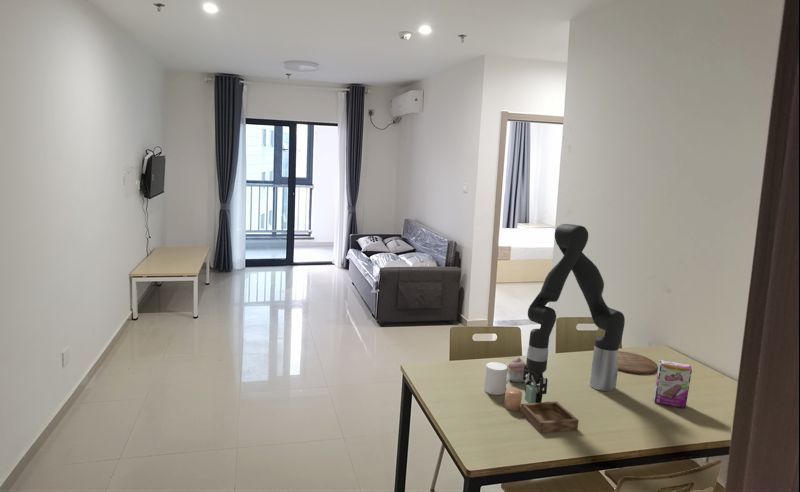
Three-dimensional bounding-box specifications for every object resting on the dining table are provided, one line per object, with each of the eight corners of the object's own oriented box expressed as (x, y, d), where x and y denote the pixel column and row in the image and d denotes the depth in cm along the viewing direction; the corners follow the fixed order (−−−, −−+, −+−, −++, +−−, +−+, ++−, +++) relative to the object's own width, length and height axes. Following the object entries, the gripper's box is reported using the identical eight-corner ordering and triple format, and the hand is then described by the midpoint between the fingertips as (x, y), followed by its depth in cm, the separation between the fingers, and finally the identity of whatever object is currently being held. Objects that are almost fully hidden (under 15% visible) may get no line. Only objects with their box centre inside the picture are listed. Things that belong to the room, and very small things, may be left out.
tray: (555, 410, 201) (556, 401, 201) (577, 429, 188) (578, 420, 187) (520, 412, 198) (521, 403, 197) (539, 432, 184) (540, 423, 183)
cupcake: (523, 386, 221) (525, 363, 219) (501, 380, 226) (503, 357, 224) (530, 379, 229) (533, 356, 227) (509, 373, 234) (511, 351, 232)
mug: (481, 364, 215) (502, 358, 222) (479, 389, 216) (500, 382, 224) (497, 371, 208) (518, 365, 215) (495, 397, 210) (516, 390, 217)
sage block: (535, 399, 210) (536, 384, 209) (541, 404, 206) (542, 389, 205) (524, 399, 209) (526, 384, 208) (530, 405, 205) (531, 389, 204)
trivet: (666, 376, 241) (667, 372, 241) (610, 373, 241) (610, 369, 241) (642, 356, 266) (643, 352, 266) (591, 353, 266) (592, 349, 266)
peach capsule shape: (516, 402, 206) (517, 388, 205) (523, 410, 200) (524, 395, 199) (501, 403, 204) (502, 388, 203) (508, 411, 199) (509, 395, 198)
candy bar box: (654, 403, 212) (660, 363, 209) (653, 398, 217) (658, 359, 214) (686, 409, 209) (692, 368, 206) (684, 404, 213) (690, 364, 210)
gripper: (556, 363, 199) (551, 405, 201) (537, 349, 212) (532, 389, 215) (537, 364, 197) (532, 406, 200) (519, 350, 210) (515, 390, 213)
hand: (532, 397), depth 207 cm, fingers open, 8 cm apart
